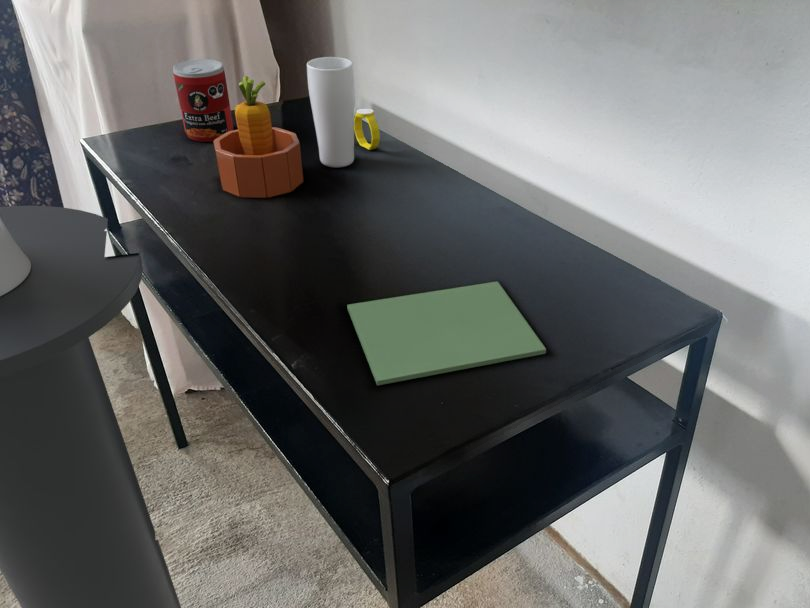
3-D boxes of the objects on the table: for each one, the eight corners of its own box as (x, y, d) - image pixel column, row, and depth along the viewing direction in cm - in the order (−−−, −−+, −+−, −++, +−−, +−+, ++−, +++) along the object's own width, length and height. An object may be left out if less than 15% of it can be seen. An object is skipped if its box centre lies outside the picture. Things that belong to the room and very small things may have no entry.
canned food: (181, 142, 118) (166, 73, 111) (192, 125, 124) (179, 58, 118) (229, 143, 119) (218, 73, 112) (237, 125, 125) (227, 59, 118)
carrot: (250, 173, 109) (234, 70, 100) (282, 174, 109) (270, 72, 100) (240, 186, 105) (223, 81, 96) (274, 188, 105) (260, 83, 96)
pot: (224, 202, 101) (217, 161, 98) (218, 168, 110) (211, 129, 107) (308, 193, 105) (304, 153, 101) (295, 161, 114) (291, 123, 110)
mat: (377, 385, 71) (376, 381, 70) (347, 309, 81) (347, 304, 81) (545, 353, 76) (546, 349, 75) (497, 285, 86) (497, 281, 86)
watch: (384, 151, 118) (383, 115, 114) (369, 155, 117) (367, 118, 113) (365, 139, 122) (363, 104, 118) (350, 143, 120) (348, 107, 117)
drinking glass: (328, 151, 117) (320, 54, 108) (366, 158, 116) (361, 60, 107) (307, 166, 112) (297, 66, 103) (347, 173, 110) (340, 72, 101)
